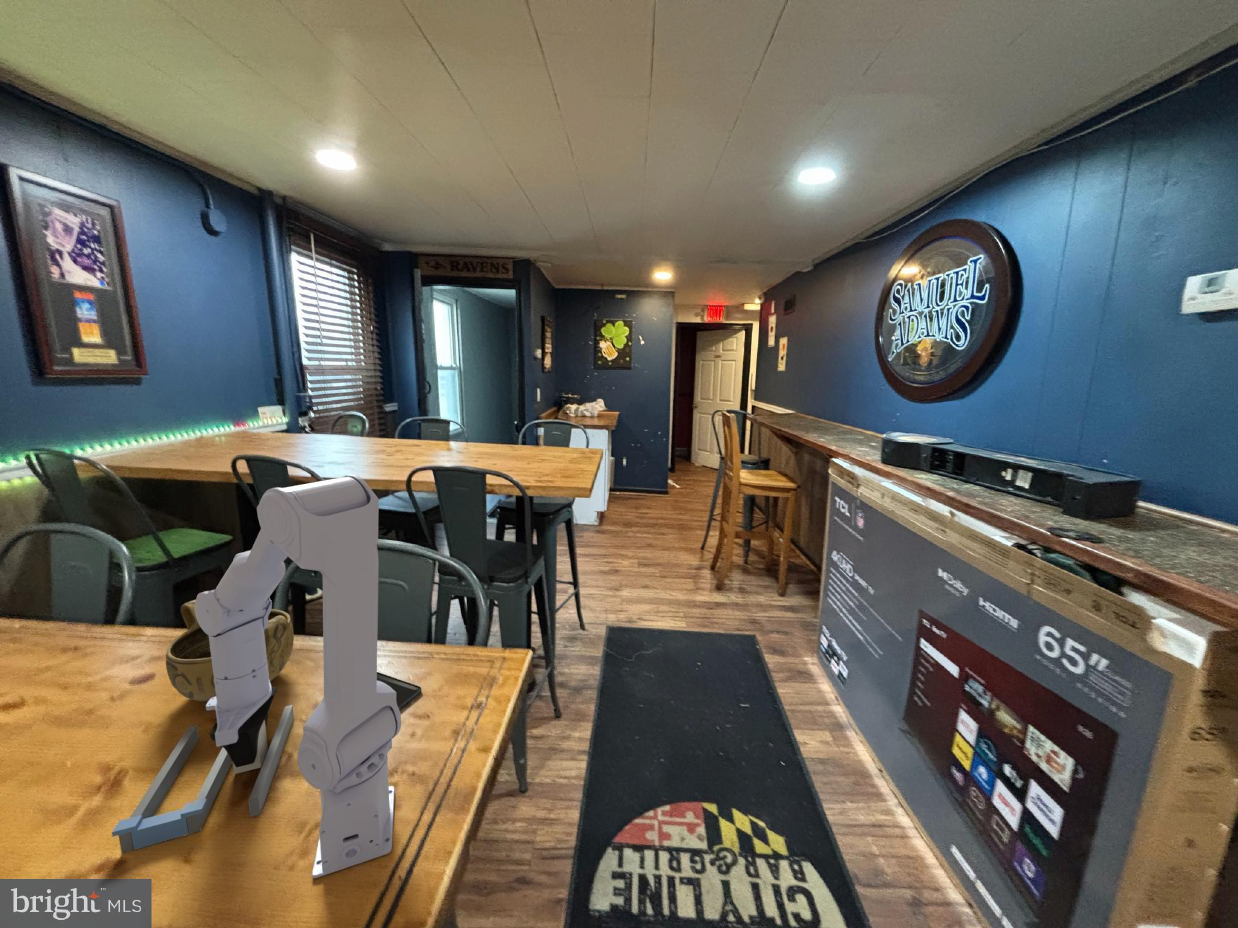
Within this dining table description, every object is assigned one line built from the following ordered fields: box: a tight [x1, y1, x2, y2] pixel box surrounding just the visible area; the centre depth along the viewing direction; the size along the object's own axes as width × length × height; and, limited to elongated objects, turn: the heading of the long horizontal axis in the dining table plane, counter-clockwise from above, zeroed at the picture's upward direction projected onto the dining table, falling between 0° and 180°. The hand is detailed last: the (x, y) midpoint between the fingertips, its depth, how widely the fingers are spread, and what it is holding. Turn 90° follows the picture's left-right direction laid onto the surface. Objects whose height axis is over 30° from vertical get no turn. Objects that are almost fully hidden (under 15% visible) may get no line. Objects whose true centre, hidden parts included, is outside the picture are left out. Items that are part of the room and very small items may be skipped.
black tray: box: [377, 671, 422, 712], centre depth 80 cm, size 8×1×15 cm
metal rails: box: [111, 704, 295, 854], centre depth 63 cm, size 18×14×3 cm
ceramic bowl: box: [165, 599, 295, 703], centre depth 79 cm, size 22×17×15 cm
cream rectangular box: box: [232, 720, 269, 775], centre depth 65 cm, size 4×3×5 cm
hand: (250, 752), depth 65 cm, fingers closed on cream rectangular box, 3 cm apart
